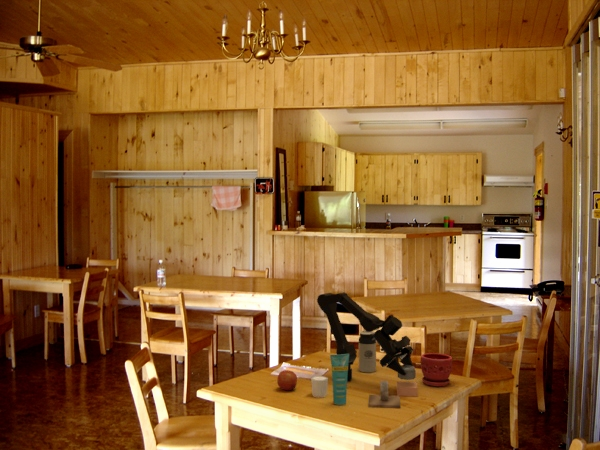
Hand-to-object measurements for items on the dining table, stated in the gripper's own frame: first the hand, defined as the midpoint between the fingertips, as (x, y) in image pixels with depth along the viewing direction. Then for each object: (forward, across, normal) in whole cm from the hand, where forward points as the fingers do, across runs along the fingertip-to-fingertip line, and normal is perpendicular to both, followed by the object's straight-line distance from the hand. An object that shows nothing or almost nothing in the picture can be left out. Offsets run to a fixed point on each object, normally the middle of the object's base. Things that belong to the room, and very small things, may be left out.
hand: (409, 373), depth 244 cm
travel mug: (-17, +19, +29) cm, 38 cm away
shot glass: (-13, -24, +26) cm, 38 cm away
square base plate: (+4, -16, +8) cm, 18 cm away
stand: (+5, 0, +7) cm, 8 cm away
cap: (0, 0, +2) cm, 2 cm away
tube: (-5, -27, +17) cm, 32 cm away
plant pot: (+8, +20, +4) cm, 21 cm away
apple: (-24, -26, +36) cm, 51 cm away
